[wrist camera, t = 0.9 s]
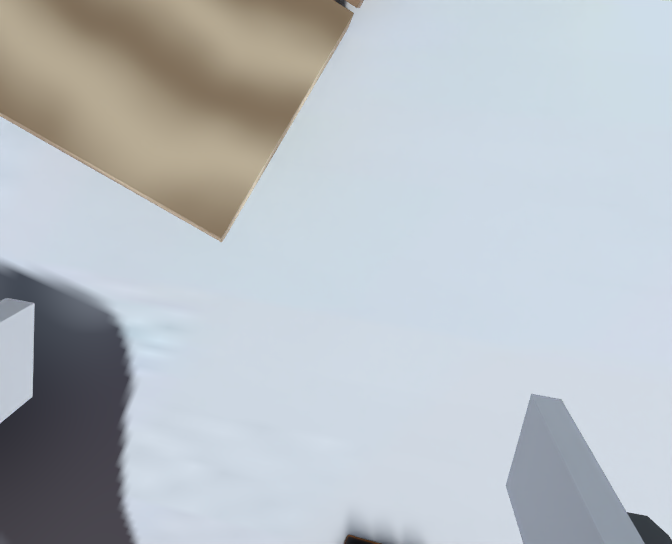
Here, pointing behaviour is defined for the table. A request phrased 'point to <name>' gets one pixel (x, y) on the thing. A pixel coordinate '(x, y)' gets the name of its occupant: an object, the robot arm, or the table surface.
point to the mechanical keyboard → (357, 540)
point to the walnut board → (355, 2)
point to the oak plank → (167, 89)
